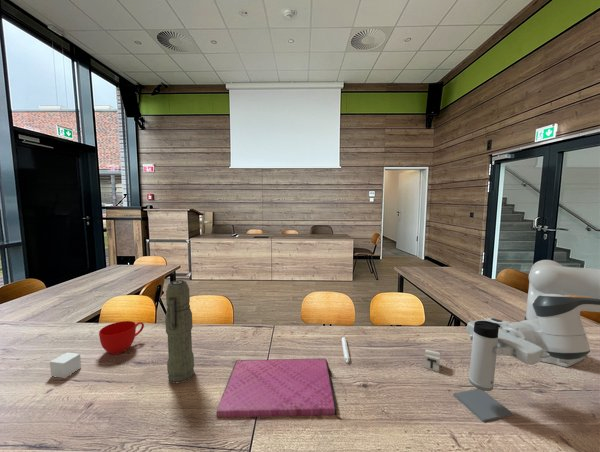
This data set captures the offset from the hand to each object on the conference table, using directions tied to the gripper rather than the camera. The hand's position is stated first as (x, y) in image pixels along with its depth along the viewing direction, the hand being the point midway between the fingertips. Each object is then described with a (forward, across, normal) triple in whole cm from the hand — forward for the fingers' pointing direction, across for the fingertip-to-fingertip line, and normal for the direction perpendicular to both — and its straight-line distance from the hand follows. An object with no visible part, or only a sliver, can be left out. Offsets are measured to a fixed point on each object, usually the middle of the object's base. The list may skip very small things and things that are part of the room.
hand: (482, 344), depth 82 cm
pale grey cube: (+132, +57, -20) cm, 145 cm away
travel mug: (0, 0, -14) cm, 14 cm away
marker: (+26, +39, -21) cm, 52 cm away
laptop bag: (+56, +27, -21) cm, 65 cm away
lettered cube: (-1, +20, -20) cm, 29 cm away
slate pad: (-1, 0, -20) cm, 20 cm away
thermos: (+91, +43, -20) cm, 103 cm away
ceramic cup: (+117, +70, -20) cm, 138 cm away
